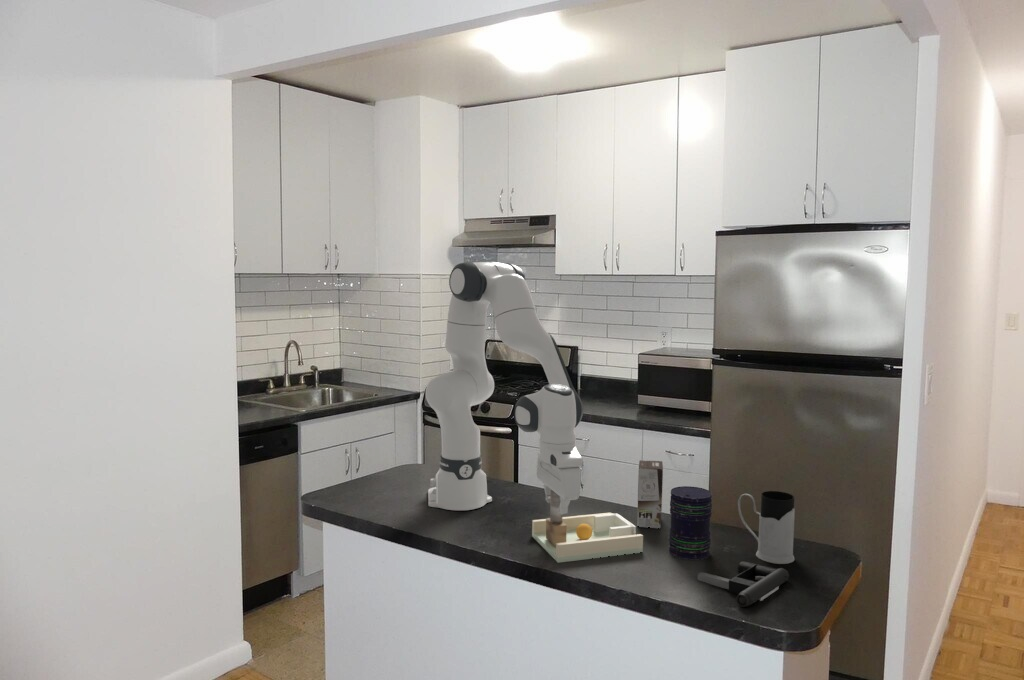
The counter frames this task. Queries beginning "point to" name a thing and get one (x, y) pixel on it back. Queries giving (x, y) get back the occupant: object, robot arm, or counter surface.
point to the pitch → (606, 539)
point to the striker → (555, 522)
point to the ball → (584, 531)
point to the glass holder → (774, 526)
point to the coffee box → (650, 494)
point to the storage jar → (690, 522)
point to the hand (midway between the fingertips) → (556, 507)
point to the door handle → (749, 582)
